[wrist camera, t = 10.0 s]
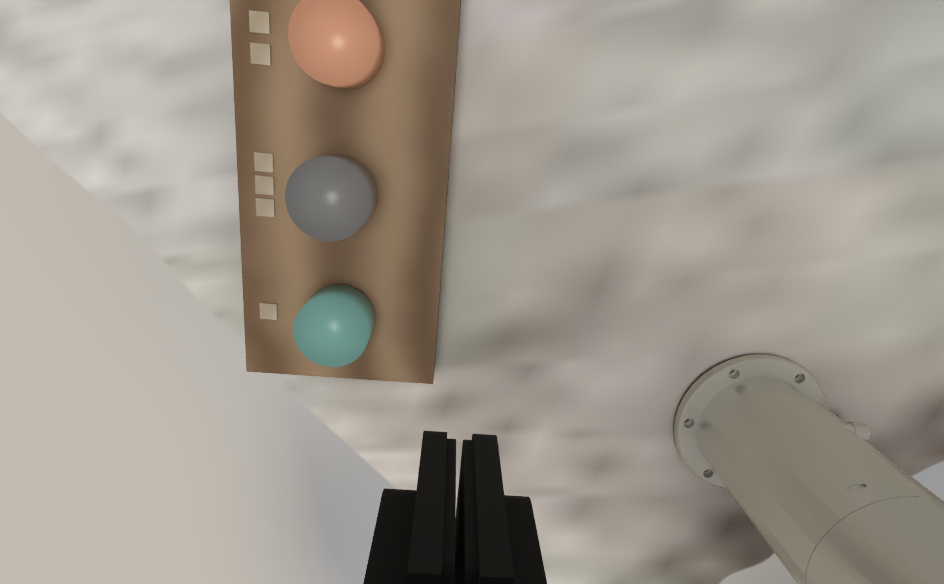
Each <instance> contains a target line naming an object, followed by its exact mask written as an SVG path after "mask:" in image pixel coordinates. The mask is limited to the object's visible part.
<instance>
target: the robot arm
mask: <svg viewBox="0 0 944 584" xmlns="http://www.w3.org/2000/svg"><path fill="white" fill-rule="evenodd" d="M870 436H871V430H870V427H869V426H868V425H867V424H865V423H856V422H847V423H845V422H844V421H843V420H841V419H840V418H839V417H837V416H836V415H835V414H833V413H832V412H831V411H829V410H828V409H827V403H826V400H825V396H824V393H823V391H822V389H821V387H820V385H819V384H818V382H817V381H816V380H815V379H814V378H813V377H812V376H811V374H810V373H809V372H807V371H806V370H804V369H803V368H802V367H800V366H799V365H797V364H795V363H793V362H791V361H789V360H787V359H785V358H781V357H778V356H774V355H763V354H755V355H746V356H741V357H738V358H734V359H730V360H728V361H726V362H724V363H721V364H719V365H717V366H715V367H714V368H712V369H711V370H709V371H708V372H706V373H705V374H703V375H702V376H701V377H700V378H699V379H698V380H697V381H696V382H695V383H694V384H693V385H692V386H691V388H690V389H689V390H688V391H687V393H686V394H685V395H684V397H683V399H682V401H681V403H680V405H679V407H678V410H677V414H676V417H675V423H674V437H675V443H676V446H677V449H678V451H679V454H680V456H681V457H682V459H683V460H684V462H685V463H686V465H687V466H688V467H689V468H690V469H691V471H692V472H693V473H694V474H695V475H697V476H698V477H699V478H701V479H702V480H704V481H706V482H708V483H710V484H712V485H714V486H718V487H722V488H726V489H728V491H729V492H730V493H731V495H732V496H733V497H734V499H735V500H736V501H737V503H738V504H739V505H740V507H741V508H742V509H743V511H744V512H745V513H746V515H747V516H748V517H749V519H750V520H751V521H752V523H753V524H754V525H755V527H756V528H757V529H758V531H759V532H760V534H761V535H762V536H763V538H764V539H765V540H766V542H767V543H768V544H769V546H770V547H771V548H772V550H773V551H774V552H775V554H776V555H777V556H778V558H779V559H780V560H781V562H782V563H783V564H784V565H785V567H786V568H787V570H788V571H789V572H790V574H791V575H792V576H793V578H794V579H795V580H796V582H797V583H798V584H944V501H942V500H941V499H939V498H938V497H937V496H936V495H934V494H933V493H932V492H931V491H929V490H928V489H927V488H925V487H924V486H923V485H922V484H920V483H919V482H918V481H916V480H915V479H914V478H912V477H911V476H910V475H909V474H907V473H906V472H905V471H903V470H902V469H901V468H899V467H898V466H897V465H896V464H894V463H893V462H892V461H890V460H889V459H888V458H886V457H885V456H884V455H883V454H881V453H880V452H879V451H877V450H876V449H875V448H873V447H872V446H871V445H870V444H868V443H867V442H866V441H864V440H868V439H869V438H870ZM455 499H456V439H447V432H435V431H424V432H423V440H422V449H421V458H420V466H419V475H418V484H417V490H399V489H384V490H383V493H382V497H381V502H380V507H379V512H378V517H377V521H376V526H375V531H374V536H373V541H372V545H371V550H370V556H369V560H368V564H367V569H366V574H365V579H364V584H547V581H546V576H545V571H544V566H543V561H542V555H541V550H540V545H539V540H538V535H537V530H536V525H535V519H534V514H533V509H532V504H531V500H530V498H529V497H523V496H505V495H504V490H503V482H502V474H501V466H500V458H499V450H498V442H497V436H496V435H483V434H473V435H472V440H463V446H462V456H461V467H460V477H459V488H458V498H457V509H456V520H455Z"/></svg>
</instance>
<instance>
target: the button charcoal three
mask: <svg viewBox="0 0 944 584" xmlns="http://www.w3.org/2000/svg"><path fill="white" fill-rule="evenodd" d="M376 201H377V191H376V186H375V183H374V180H373V178H372V176H371V175H370V173H369V172H368V170H367V169H366V168H365V167H364V166H363V165H362V164H360V163H359V162H358V161H356V160H354V159H352V158H350V157H347V156H344V155H327V156H322V157H318V158H313V159H310V160H308V161H305V162H304V163H302V164H301V165H299V166H298V167H297V168H296V169H295V170H294V171H293V172H292V174H291V175H290V177H289V179H288V181H287V184H286V189H285V204H286V208H287V211H288V213H289V215H290V217H291V219H292V221H293V222H294V224H295V225H296V226H297V227H298V228H299V229H300V230H301V231H302V232H304V233H305V234H307V235H308V236H310V237H312V238H315V239H318V240H321V241H339V240H343V239H346V238H348V237H350V236H352V235H353V234H354V233H356V232H357V231H358V230H359V229H360V228H361V227H362V226H363V225H364V224H365V223H366V222H367V221H368V220H369V218H370V217H371V215H372V214H373V212H374V209H375V206H376Z"/></svg>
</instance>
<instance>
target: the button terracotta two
mask: <svg viewBox="0 0 944 584" xmlns="http://www.w3.org/2000/svg"><path fill="white" fill-rule="evenodd" d="M288 39H289V45H290V49H291V52H292V54H293V56H294V59H295V60H296V62H297V64H298V65H299V66H300V67H301V69H302V70H303V71H304V72H305V73H306V74H307V75H309V76H310V77H311V78H313V79H315V80H316V81H318V82H321V83H323V84H327V85H330V86H333V87H336V88H340V89H354V88H358V87H360V86H363V85H365V84H366V83H368V82H369V81H370V80H372V78H373V77H374V76H375V75H376V74H377V72H378V71H379V69H380V67H381V64H382V61H383V57H384V40H383V35H382V32H381V30H380V27H379V25H378V24H377V22H376V20H375V19H374V18H373V16H372V15H371V14H370V12H369V11H368V10H367V9H366V7H365V6H364V5H363V4H362V3H361V2H360V1H359V0H301V1H300V2H299V3H298V4H297V6H296V7H295V9H294V10H293V13H292V15H291V18H290V21H289V27H288Z"/></svg>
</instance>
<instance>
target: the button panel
mask: <svg viewBox="0 0 944 584" xmlns="http://www.w3.org/2000/svg"><path fill="white" fill-rule="evenodd" d="M300 1H301V0H230V14H231V36H232V58H233V80H234V102H235V125H236V147H237V169H238V191H239V213H240V235H241V257H242V279H243V301H244V323H245V345H246V366H247V371H248V372H263V373H278V374H293V375H308V376H323V377H338V378H352V379H367V380H382V381H397V382H412V383H427V384H433V378H434V368H435V354H436V341H437V327H438V313H439V299H440V285H441V271H442V258H443V244H444V230H445V216H446V202H447V188H448V175H449V161H450V147H451V133H452V119H453V105H454V92H455V78H456V64H457V50H458V36H459V22H460V9H461V0H359V1H360V2H361V3H362V4H363V5H364V6H365V7H366V9H367V10H368V11H369V12H370V14H371V15H372V16H373V18H374V19H375V20H376V22H377V24H378V25H379V27H380V30H381V32H382V35H383V40H384V57H383V61H382V64H381V67H380V69H379V71H378V72H377V74H376V75H375V76H374V77H373V78H372V80H370V81H369V82H368V83H366V84H365V85H363V86H360V87H358V88H354V89H340V88H336V87H333V86H330V85H327V84H323V83H321V82H318V81H316V80H315V79H313V78H311V77H310V76H309V75H307V74H306V73H305V72H304V71H303V70H302V69H301V67H300V66H299V65H298V64H297V62H296V60H295V59H294V56H293V54H292V52H291V49H290V45H289V39H288V27H289V21H290V18H291V15H292V13H293V10H294V9H295V7H296V6H297V4H298V3H299V2H300ZM327 155H344V156H347V157H350V158H352V159H354V160H356V161H358V162H359V163H360V164H362V165H363V166H364V167H365V168H366V169H367V170H368V172H369V173H370V175H371V176H372V178H373V180H374V183H375V186H376V191H377V201H376V206H375V209H374V212H373V214H372V215H371V217H370V218H369V220H368V221H367V222H366V223H365V224H364V225H363V226H362V227H361V228H360V229H359V230H358V231H357V232H356V233H354V234H353V235H352V236H350V237H348V238H346V239H343V240H339V241H321V240H318V239H315V238H312V237H310V236H308V235H307V234H305V233H304V232H302V231H301V230H300V229H299V228H298V227H297V226H296V225H295V224H294V222H293V221H292V219H291V217H290V215H289V213H288V211H287V208H286V204H285V189H286V184H287V181H288V179H289V177H290V175H291V174H292V172H293V171H294V170H295V169H296V168H297V167H298V166H299V165H301V164H302V163H304V162H305V161H308V160H310V159H313V158H318V157H322V156H327ZM336 284H340V285H347V286H350V287H353V288H355V289H357V290H359V291H360V292H361V293H363V294H364V295H365V296H366V297H367V298H368V300H369V301H370V303H371V304H372V307H373V309H374V313H375V325H374V329H373V331H372V334H371V336H370V338H369V341H368V343H367V345H366V348H365V350H364V351H363V353H362V354H361V355H360V356H359V357H358V358H357V359H356V360H355V361H353V362H352V363H350V364H347V365H344V366H340V367H326V366H322V365H319V364H316V363H314V362H312V361H311V360H309V359H308V358H307V357H305V356H304V355H303V354H302V352H301V351H300V350H299V348H298V347H297V345H296V343H295V340H294V336H293V324H294V320H295V317H296V315H297V314H298V312H299V311H300V309H301V308H302V307H303V306H304V305H305V304H306V303H307V301H308V300H309V299H310V298H311V297H312V296H313V295H314V294H315V293H316V292H317V291H318V290H320V289H322V288H323V287H326V286H329V285H336Z"/></svg>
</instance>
